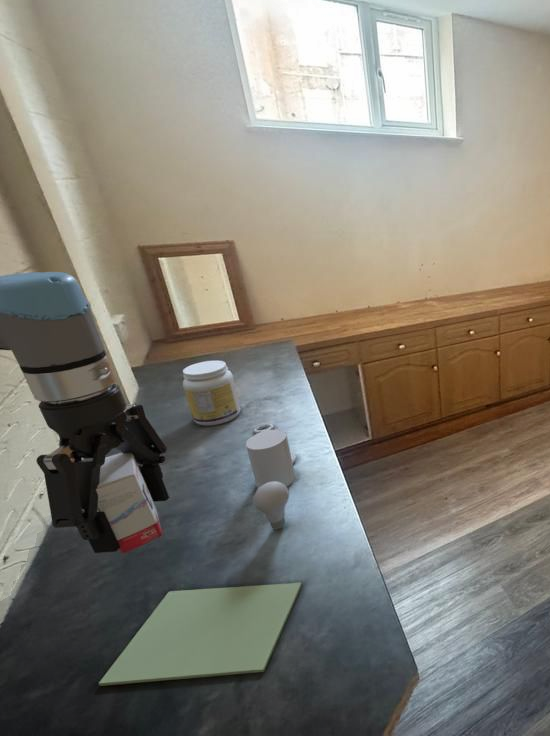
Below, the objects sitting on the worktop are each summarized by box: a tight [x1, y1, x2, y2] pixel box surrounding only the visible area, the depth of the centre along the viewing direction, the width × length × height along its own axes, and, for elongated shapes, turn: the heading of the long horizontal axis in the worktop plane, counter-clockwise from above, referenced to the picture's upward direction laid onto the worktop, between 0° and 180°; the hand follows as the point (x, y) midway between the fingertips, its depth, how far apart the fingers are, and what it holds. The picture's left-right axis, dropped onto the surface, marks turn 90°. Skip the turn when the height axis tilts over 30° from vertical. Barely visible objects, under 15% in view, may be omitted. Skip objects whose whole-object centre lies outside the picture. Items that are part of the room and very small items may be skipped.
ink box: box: [96, 452, 164, 554], centre depth 59 cm, size 9×5×12 cm, turn 45°
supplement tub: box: [182, 360, 242, 427], centre depth 120 cm, size 12×12×17 cm
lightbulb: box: [253, 481, 290, 530], centre depth 81 cm, size 6×6×11 cm
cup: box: [245, 429, 296, 490], centre depth 94 cm, size 8×8×12 cm
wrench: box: [253, 423, 297, 464], centre depth 109 cm, size 25×2×5 cm
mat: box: [98, 582, 303, 687], centre depth 63 cm, size 22×14×1 cm, turn 95°
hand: (135, 523), depth 60 cm, fingers closed on ink box, 9 cm apart
